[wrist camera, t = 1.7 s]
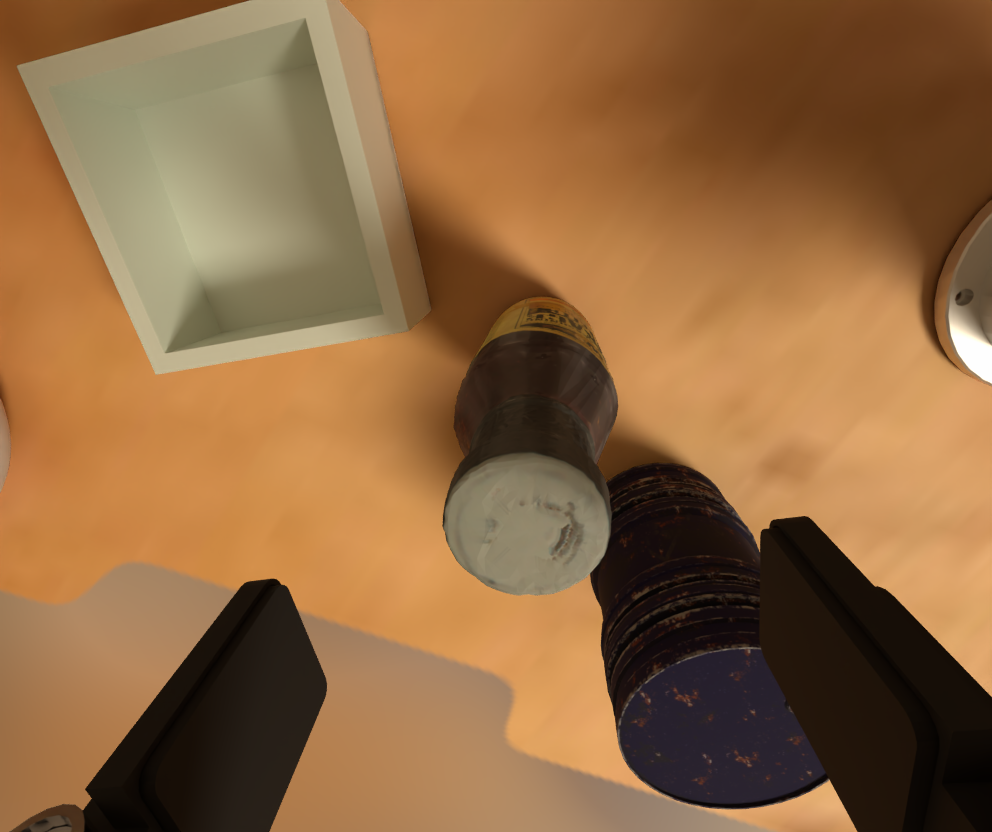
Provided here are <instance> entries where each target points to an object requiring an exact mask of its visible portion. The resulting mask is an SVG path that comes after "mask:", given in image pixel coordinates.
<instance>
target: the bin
mask: <svg viewBox="0 0 992 832" xmlns="http://www.w3.org/2000/svg"><path fill="white" fill-rule="evenodd" d="M17 68H18V71H19V73H20V75H21V77H22V79H23V82H24V84H25V86H26V88H27V90H28V93H29V95H30V97H31V99H32V101H33V104H34V106H35V108H36V110H37V113H38V115H39V117H40V119H41V121H42V124H43V126H44V128H45V130H46V132H47V135H48V137H49V139H50V141H51V144H52V146H53V148H54V150H55V152H56V155H57V157H58V159H59V161H60V163H61V166H62V168H63V170H64V172H65V175H66V177H67V179H68V181H69V183H70V186H71V188H72V190H73V192H74V194H75V197H76V199H77V201H78V203H79V206H80V208H81V210H82V212H83V214H84V217H85V219H86V221H87V223H88V225H89V228H90V230H91V232H92V234H93V237H94V239H95V241H96V243H97V245H98V248H99V250H100V252H101V254H102V256H103V259H104V261H105V263H106V265H107V268H108V270H109V272H110V274H111V276H112V279H113V281H114V283H115V285H116V287H117V290H118V292H119V294H120V296H121V299H122V301H123V303H124V305H125V307H126V310H127V312H128V314H129V316H130V318H131V321H132V323H133V325H134V327H135V330H136V332H137V334H138V336H139V338H140V341H141V343H142V345H143V347H144V349H145V352H146V354H147V356H148V358H149V361H150V363H151V365H152V367H153V369H154V372H155V374H156V375H157V374H163V373H169V372H175V371H181V370H186V369H192V368H198V367H204V366H210V365H215V364H221V363H227V362H233V361H239V360H244V359H250V358H256V357H262V356H268V355H273V354H279V353H285V352H291V351H297V350H302V349H308V348H314V347H320V346H326V345H331V344H337V343H343V342H349V341H355V340H360V339H366V338H372V337H378V336H384V335H389V334H395V333H401V332H407V331H410V330H411V329H412V328H413V327H414V326H415V325H416V324H417V323H418V322H419V321H420V320H422V319H423V318H424V317H425V316H426V315H427V314H428V313H429V312H430V311H431V305H430V301H429V297H428V292H427V288H426V283H425V279H424V275H423V270H422V266H421V262H420V257H419V253H418V249H417V244H416V240H415V236H414V231H413V227H412V223H411V218H410V214H409V209H408V205H407V201H406V196H405V192H404V188H403V183H402V179H401V175H400V170H399V166H398V162H397V157H396V153H395V149H394V144H393V140H392V136H391V131H390V127H389V122H388V118H387V114H386V109H385V105H384V101H383V96H382V92H381V88H380V83H379V79H378V75H377V70H376V66H375V62H374V57H373V53H372V49H371V44H370V40H369V35H368V31H367V30H366V29H365V28H364V27H363V26H362V25H361V24H360V23H359V22H358V20H357V19H356V18H355V17H354V16H353V15H352V14H351V13H350V12H349V11H348V10H347V8H346V7H345V6H344V5H343V4H342V3H341V2H340V1H339V0H249V1H246V2H242V3H239V4H235V5H231V6H228V7H224V8H221V9H217V10H214V11H210V12H206V13H203V14H199V15H196V16H192V17H189V18H185V19H181V20H178V21H174V22H171V23H167V24H164V25H160V26H156V27H153V28H149V29H146V30H142V31H139V32H135V33H131V34H128V35H124V36H121V37H117V38H114V39H110V40H106V41H103V42H99V43H96V44H92V45H89V46H85V47H81V48H78V49H74V50H71V51H67V52H64V53H60V54H56V55H53V56H49V57H46V58H42V59H39V60H35V61H31V62H28V63H24V64H21V65H17Z"/></svg>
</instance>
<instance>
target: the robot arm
mask: <svg viewBox="0 0 992 832" xmlns="http://www.w3.org/2000/svg"><path fill="white" fill-rule="evenodd" d="M934 311H935V326H936V330H937V334H938V338H939V341H940V344H941V345H942V347H943V349H944V351H945V352H946V354H947V356H948V358H949V359H950V360H951V361H952V362H953V363H954V364H955V365H956V366H957V367H958V368H959V369H960V370H961V371H962V372H964V373H966V374H967V375H969V376H971V377H972V378H974V379H976V380H977V381H980V382H982V383H985V384H988V385H990V386H992V200H991V201H989V202H988V203H987V204H986V205H985V206H984V207H983V208H982V209H981V210H980V211H979V212H978V213H977V215H976V216H975V217H974V218H973V220H972V221H971V222H970V223H969V225H968V226H967V227H966V228H965V230H964V231H963V232H962V233H961V235H960V237H959V238H958V240H957V242H956V243H955V245H954V247H953V249H952V250H951V252H950V254H949V255H948V257H947V260H946V262H945V265H944V267H943V270H942V273H941V275H940V278H939V280H938V286H937V291H936V296H935V302H934ZM759 641H760V647H761V650H762V654H763V656H764V659H765V661H766V663H767V665H768V666H769V668H770V670H771V672H772V674H773V676H774V678H775V679H776V681H777V683H778V685H779V687H780V689H781V691H782V692H783V694H784V696H785V698H786V700H787V702H788V704H789V705H790V707H791V709H792V711H793V713H794V715H795V717H796V718H797V720H798V722H799V724H800V726H801V728H802V729H803V731H804V733H805V735H806V737H807V739H808V741H809V742H810V744H811V746H812V748H813V750H814V752H815V754H816V755H817V757H818V759H819V761H820V763H821V765H822V767H823V768H824V770H825V772H826V774H827V776H828V778H829V779H830V781H831V783H832V785H833V787H834V789H835V791H836V792H837V794H838V796H839V798H840V800H841V802H842V804H843V805H844V807H845V809H846V811H847V813H848V815H849V817H850V818H851V820H852V822H853V824H854V826H855V828H856V830H857V831H858V832H992V697H991V696H990V695H989V694H988V693H987V692H986V691H985V690H984V689H983V688H982V687H981V686H980V685H979V684H978V683H977V681H976V680H975V679H974V678H973V677H972V676H971V675H970V674H969V673H968V672H967V671H966V670H965V669H964V668H963V667H962V666H961V665H960V664H959V663H958V662H957V661H956V660H955V659H954V658H953V657H952V656H951V655H950V654H949V653H948V652H947V651H946V650H945V649H944V647H943V646H942V645H941V644H940V643H939V642H938V641H937V640H936V639H935V638H934V637H933V636H932V635H931V634H930V633H929V632H928V631H927V630H926V629H925V628H924V627H923V626H922V625H921V624H920V623H919V622H918V621H917V620H916V619H915V618H914V617H913V616H912V614H911V613H910V612H909V611H908V610H907V609H906V608H905V607H904V606H903V605H902V604H901V603H900V602H899V601H898V600H897V599H896V598H895V597H894V596H893V595H892V594H890V593H889V592H888V591H887V590H886V589H883V588H881V587H878V586H877V587H875V586H874V585H873V584H872V583H871V582H870V581H869V580H868V579H867V578H866V577H865V576H864V575H863V574H862V572H861V571H860V570H859V569H858V568H857V567H856V566H855V565H854V564H853V563H852V562H851V561H850V560H849V559H848V558H847V557H846V556H845V554H844V553H843V552H842V551H841V550H840V549H839V548H838V547H837V546H836V545H835V544H834V543H833V542H832V541H831V540H830V539H829V538H828V536H827V535H826V534H825V533H824V532H823V531H822V530H821V529H820V528H819V527H818V526H817V525H816V524H815V523H814V522H813V521H812V520H811V519H810V518H809V517H806V516H801V517H793V518H784V519H776V520H773V521H771V523H770V527H769V529H763V530H762V531H761V536H760V620H759ZM326 691H327V682H326V678H325V675H324V673H323V670H322V668H321V665H320V663H319V661H318V658H317V656H316V654H315V651H314V649H313V646H312V644H311V642H310V639H309V637H308V635H307V632H306V630H305V627H304V625H303V623H302V620H301V618H300V615H299V613H298V611H297V608H296V606H295V603H294V601H293V599H292V596H291V594H290V592H289V590H288V588H287V587H286V586H285V585H281V584H280V582H279V581H278V580H277V579H266V580H257V581H249V582H246V583H244V584H243V585H242V586H241V587H240V589H239V590H238V591H237V593H236V594H235V595H234V597H233V598H232V599H231V600H230V602H229V603H228V604H227V606H226V607H225V608H224V609H223V611H222V612H221V613H220V615H219V616H218V617H217V619H216V620H215V621H214V623H213V624H212V625H211V626H210V628H209V629H208V630H207V631H206V633H205V634H204V635H203V637H202V638H201V639H200V641H199V642H198V643H197V644H196V646H195V647H194V648H193V650H192V651H191V652H190V654H189V655H188V656H187V658H186V659H185V660H184V661H183V663H182V664H181V665H180V667H179V668H178V669H177V670H176V672H175V673H174V674H173V676H172V677H171V678H170V680H169V681H168V682H167V683H166V685H165V686H164V687H163V689H162V690H161V691H160V692H159V694H158V695H157V696H156V698H155V699H154V700H153V702H152V703H151V704H150V705H149V707H148V708H147V710H146V711H145V712H144V713H143V715H142V716H141V717H140V719H139V720H138V721H137V722H136V724H135V725H134V726H133V728H132V729H131V730H130V731H129V733H128V734H127V735H126V737H125V738H124V739H123V741H122V742H121V743H120V744H119V746H118V747H117V748H116V750H115V751H114V752H113V754H112V755H111V756H110V757H109V759H108V760H107V761H106V763H105V764H104V765H103V767H102V768H101V769H100V770H99V772H98V773H97V774H96V776H95V777H94V778H93V780H92V781H91V782H90V783H89V785H88V786H87V787H86V789H85V790H86V791H87V792H88V794H89V795H90V797H91V798H92V799H91V800H90V802H89V803H88V804H87V806H86V807H85V809H84V810H81V809H80V808H79V807H77V806H76V805H69V804H62V805H59V806H56V807H52V808H49V809H46V810H44V811H42V812H40V813H38V814H36V815H34V816H32V817H30V818H29V819H27V820H26V821H25V822H23V823H22V824H20V825H19V826H17V827H16V828H14V829H13V830H12V831H10V832H269V831H270V829H271V826H272V824H273V821H274V819H275V817H276V814H277V812H278V810H279V807H280V805H281V802H282V800H283V798H284V795H285V793H286V790H287V788H288V785H289V783H290V780H291V778H292V776H293V773H294V771H295V769H296V766H297V764H298V762H299V759H300V756H301V754H302V752H303V750H304V747H305V745H306V742H307V740H308V738H309V735H310V733H311V730H312V728H313V726H314V723H315V721H316V718H317V716H318V714H319V711H320V709H321V706H322V704H323V702H324V699H325V696H326Z"/></svg>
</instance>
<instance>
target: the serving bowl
mask: <svg viewBox="0 0 992 832" xmlns="http://www.w3.org/2000/svg"><path fill="white" fill-rule="evenodd" d="M10 458H11V437H10V429H9V424H8V419H7V415H6V412H5V409H4V406H3V403H2V400H1V398H0V492H1V490H2V488H3V485H4V482H5V480H6V477H7V473H8V469H9V464H10Z"/></svg>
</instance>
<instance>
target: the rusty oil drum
mask: <svg viewBox="0 0 992 832" xmlns="http://www.w3.org/2000/svg"><path fill="white" fill-rule="evenodd" d="M606 484H607V487H608V490H609V497H610V506H611V512H612V517H611V535H610V538H609V542H608V546H607V550H606V552H605V555H604V557H603V558H602V559H601V561H600V563H599V564H598V565H597V566H596V567H595V568H594V569H593V571H592V572H591V573H590V577H591V584H592V587H593V590H594V593H595V596H596V599H597V601H598V602H599V604H600V606H601V609H602V615H603V623H602V632H601V651H602V657H603V660H604V667H605V675H606V681H607V688H608V693H609V696H610V699H611V702H612V705H613V711H614V716H615V722H616V730H617V737H618V743H619V748H620V751H621V753H622V756H623V759H624V760H625V762H626V763H627V765H628V767H629V768H630V770H631V771H632V772H633V773H634V774H635V775H636V776H637V777H638V778H639V779H640V780H641V781H642V782H644V783H645V784H646V785H648V786H649V787H650V788H652V789H654V790H655V791H657V792H659V793H661V794H662V795H665V796H667V797H670V798H672V799H674V800H677V801H680V802H684V803H687V804H691V805H695V806H701V807H706V808H715V809H749V808H757V807H764V806H769V805H773V804H778V803H782V802H785V801H788V800H791V799H794V798H797V797H799V796H801V795H804V794H806V793H808V792H810V791H812V790H814V789H816V788H817V787H819V786H821V785H823V784H824V783H826V782H827V781H829V780H830V779H829V778H828V776H827V774H826V772H825V770H824V768H823V767H822V765H821V763H820V761H819V759H818V757H817V755H816V754H815V752H814V750H813V748H812V746H811V744H810V742H809V741H808V739H807V737H806V735H805V733H804V731H803V729H802V728H801V726H800V724H799V722H798V720H797V718H796V717H795V715H794V713H793V711H792V709H791V707H790V705H789V704H788V702H787V700H786V698H785V696H784V694H783V692H782V691H781V689H780V687H779V685H778V683H777V681H776V679H775V678H774V676H773V674H772V672H771V670H770V668H769V666H768V665H767V663H766V661H765V659H764V656H763V654H762V650H761V647H760V641H759V620H760V552H759V549H758V547H757V544H756V542H755V539H754V537H753V535H752V533H751V532H750V530H749V529H748V527H747V526H746V525H745V524H744V523H743V521H742V520H741V518H740V517H739V515H738V514H737V512H736V511H735V510H734V508H733V507H732V506H731V505H730V504H729V503H728V502H727V501H726V500H725V498H724V497H723V495H722V494H721V492H720V491H719V489H718V488H717V487H716V485H715V484H714V483H713V482H712V481H711V480H710V479H708V478H707V477H705V476H704V475H703V474H701V473H699V472H697V471H695V470H693V469H691V468H688V467H685V466H682V465H677V464H671V463H653V464H645V465H641V466H637V467H633V468H631V469H629V470H626V471H624V472H622V473H620V474H618V475H617V476H615V477H613V478H612V479H611V480H609V481H608V482H607V483H606Z"/></svg>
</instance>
